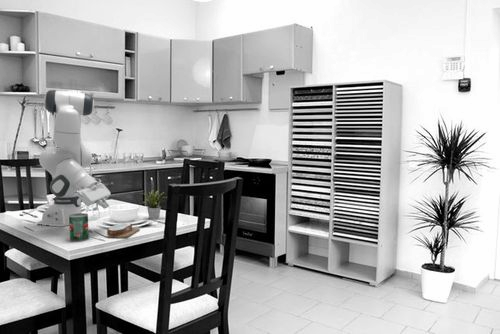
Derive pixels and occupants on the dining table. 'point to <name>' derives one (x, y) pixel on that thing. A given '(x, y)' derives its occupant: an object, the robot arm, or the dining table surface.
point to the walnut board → (127, 235)
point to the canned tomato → (78, 227)
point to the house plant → (153, 205)
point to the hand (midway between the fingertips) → (107, 207)
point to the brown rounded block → (119, 229)
